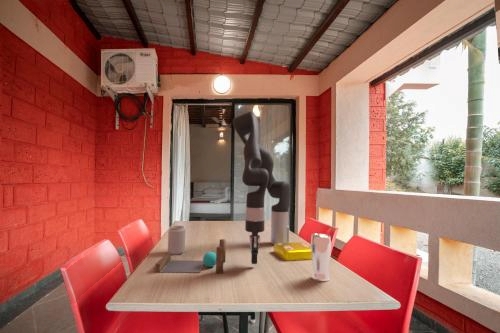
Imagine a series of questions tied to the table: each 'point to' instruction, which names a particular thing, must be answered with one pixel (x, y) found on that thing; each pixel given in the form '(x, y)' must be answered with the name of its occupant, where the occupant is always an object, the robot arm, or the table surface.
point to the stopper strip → (162, 262)
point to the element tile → (292, 251)
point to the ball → (209, 259)
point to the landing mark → (183, 266)
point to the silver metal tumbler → (320, 256)
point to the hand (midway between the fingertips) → (254, 263)
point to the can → (176, 240)
